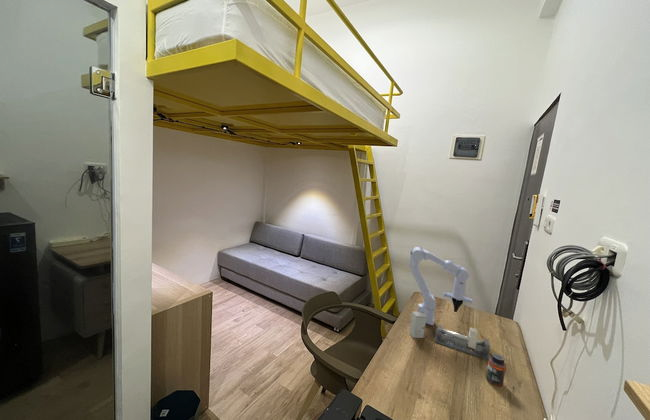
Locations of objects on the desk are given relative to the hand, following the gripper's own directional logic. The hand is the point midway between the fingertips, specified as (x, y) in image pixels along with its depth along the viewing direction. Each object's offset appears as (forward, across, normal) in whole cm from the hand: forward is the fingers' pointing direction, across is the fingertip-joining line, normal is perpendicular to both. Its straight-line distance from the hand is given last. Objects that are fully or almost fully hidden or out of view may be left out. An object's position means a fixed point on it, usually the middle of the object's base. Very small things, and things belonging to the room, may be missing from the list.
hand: (455, 311), depth 138 cm
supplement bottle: (+10, +14, -36) cm, 40 cm away
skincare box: (+10, -18, -21) cm, 29 cm away
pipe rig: (+9, +3, -16) cm, 19 cm away
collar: (+8, +7, -16) cm, 19 cm away
